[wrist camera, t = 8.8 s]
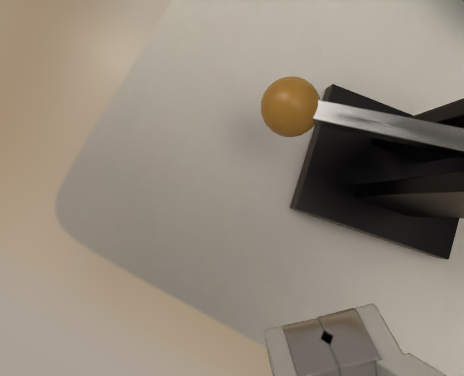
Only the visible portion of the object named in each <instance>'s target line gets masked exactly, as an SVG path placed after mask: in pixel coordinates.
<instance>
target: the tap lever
mask: <svg viewBox="0 0 464 376" xmlns="http://www.w3.org/2000/svg"><path fill="white" fill-rule="evenodd" d="M261 114H262V117H263V120H264V122H265V124H266V125H267V126H268V127H269V129H271V130H272V131H273V132H275V133H276V134H278V135H281V136H285V137H295V136H299V135H302V134H304V133H306V132H307V131H309V130H310V129H311V128H312V127H313V126H314V125H317V126H321V127H326V128H331V129H335V130H340V131H344V132H349V133H353V134H358V135H363V136H367V137H372V138H376V139H381V140H386V141H390V142H395V143H399V144H404V145H409V146H413V147H418V148H422V149H427V150H432V151H436V152H441V153H445V154H450V155H455V156H459V157H464V128H459V127H454V126H449V125H444V124H439V123H434V122H429V121H424V120H419V119H414V118H409V117H404V116H399V115H393V114H388V113H383V112H378V111H373V110H368V109H363V108H358V107H353V106H348V105H343V104H338V103H333V102H328V101H323V100H320V97H319V95H318V93H317V91H316V89H315V88H314V87H313V86H312V84H310V83H309V82H308V81H306V80H304V79H302V78H299V77H284V78H281V79H279V80H277V81H275V82H274V83H272V84H271V85H270V86H269V87H268V88H267V90H266V91H265V93H264V95H263V97H262V101H261Z"/></svg>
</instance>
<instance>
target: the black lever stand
mask: <svg viewBox="0 0 464 376" xmlns="http://www.w3.org/2000/svg"><path fill="white" fill-rule="evenodd" d="M323 101H328V102H333V103H338V104H343V105H348V106H353V107H358V108H363V109H368V110H373V111H378V112H383V113H388V114H393V115H399V116H404V117H409V118H414V119H419V120H424V121H429V122H434V123H439V124H444V125H449V126H454V127H459V128H464V99H461V100H458V101H455V102H452V103H449V104H446V105H444V106H441V107H438V108H435V109H432V110H429V111H426V112H424V113H421V114H418V115H415V116H413V115H410V114H407V113H405V112H402V111H400V110H397V109H395V108H392V107H390V106H387V105H385V104H382V103H380V102H377V101H374V100H372V99H369V98H367V97H364V96H362V95H359V94H357V93H354V92H352V91H349V90H346V89H344V88H341V87H339V86H336V85H334V84H333V85H331V86H330V87H328V88H327V89H326V91H325V95H324V98H323ZM290 208H291V209H294V210H297V211H300V212H303V213H306V214H309V215H312V216H315V217H318V218H321V219H324V220H327V221H330V222H333V223H336V224H339V225H342V226H345V227H348V228H351V229H354V230H357V231H360V232H363V233H366V234H369V235H372V236H375V237H378V238H380V239H383V240H386V241H389V242H392V243H395V244H398V245H401V246H404V247H407V248H410V249H413V250H416V251H419V252H422V253H425V254H428V255H431V256H434V257H437V258H442V259H449V256H450V252H451V248H452V245H453V241H454V237H455V233H456V229H457V225H458V222H459V218H464V157H459V156H455V155H450V154H445V153H441V152H436V151H432V150H427V149H422V148H418V147H413V146H409V145H404V144H399V143H395V142H390V141H386V140H381V139H376V138H372V137H367V136H363V135H358V134H353V133H349V132H344V131H340V130H335V129H331V128H326V127H321V126H317V125H315V128H314V131H313V134H312V138H311V141H310V144H309V147H308V151H307V154H306V157H305V161H304V164H303V167H302V170H301V174H300V177H299V180H298V184H297V187H296V190H295V194H294V197H293V200H292V203H291V207H290Z"/></svg>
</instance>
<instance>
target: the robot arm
mask: <svg viewBox="0 0 464 376" xmlns="http://www.w3.org/2000/svg"><path fill="white" fill-rule="evenodd" d="M263 334H264V338H265V343H266V347H267V351H268V355H269V360H270V364H271V369H272V373H273V376H446V375H445V374H443V373H441V372H440V371H438V370H436V369H435V368H433V367H431V366H430V365H428V364H427V363H425V362H423V361H422V360H420V359H418V358H417V357H415V356H413V355H412V354H410V353H407V354H403V352H402V350H401V349H400V347H399V345H398V344H397V342H396V340H395V338H394V337H393V335H392V333H391V331H390V330H389V328H388V326H387V324H386V323H385V321H384V319H383V317H382V316H381V314H380V312H379V310H378V309H377V307H376V306H375V305H374V304H369V305H365V306H361V307H357V308H351V309H347V310H343V311H340V312H336V313H332V314H328V315H324V316H320V317H318V318H315V319H311V320H306V321H301V322H297V323H292V324H288V325H283V326H279V327H275V328H271V329H266V330H263Z"/></svg>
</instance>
